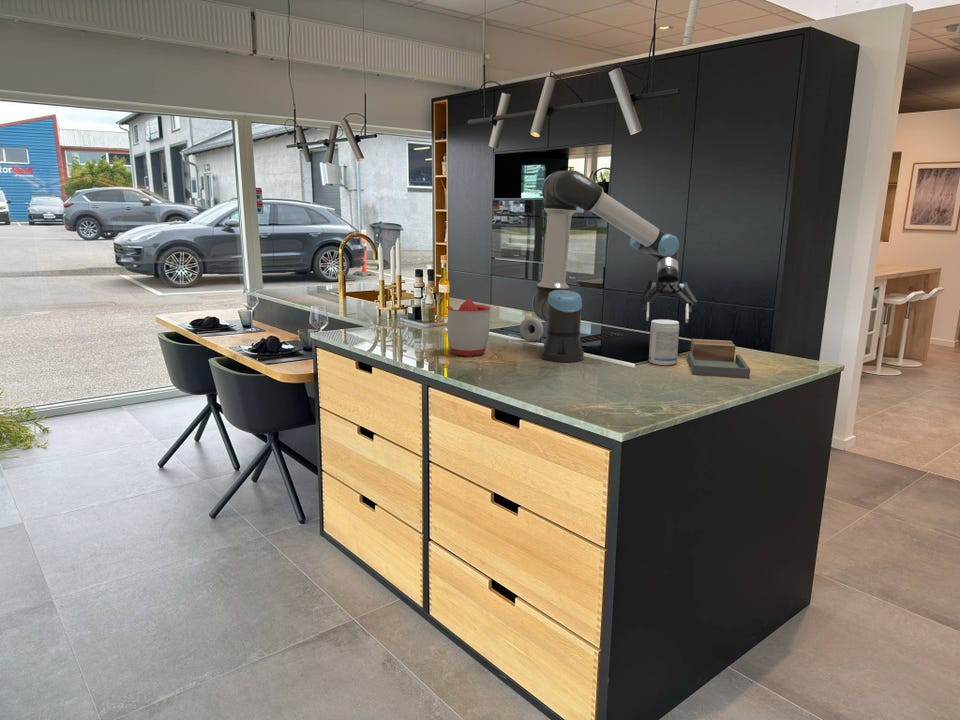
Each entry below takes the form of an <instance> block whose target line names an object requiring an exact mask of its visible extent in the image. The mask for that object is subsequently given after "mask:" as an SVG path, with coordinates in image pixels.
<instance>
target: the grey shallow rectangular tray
mask: <svg viewBox="0 0 960 720" xmlns="http://www.w3.org/2000/svg"><path fill="white" fill-rule="evenodd" d="M686 360H687V363H688V366H689V368H690V371H691V374H692V375H695V376H710V377H711V376H712V377H722V378H723V377H724V378H725V377H726V378H737V377H738V378H739V379H742V378H743V379H750V378H751V377H750V375H751V368H750V367H749V365H748V364H747V362H746V361H745V360H744V359H743V357H742V356H741V354H739V353H738V354H736V353H735V357H734V362H727V361H711V360H695V359H694V357H693V354H692V352H690V351H688V352H687V357H686Z"/></svg>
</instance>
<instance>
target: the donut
mask: <svg viewBox="0 0 960 720" xmlns="http://www.w3.org/2000/svg"><path fill="white" fill-rule="evenodd" d="M530 326H533V327H534V332H530V330H529V327H530ZM519 333H520V335H521V336H522V337H523V339H524V340H526V341H527V342H531V343H532V342H537V341H539V340H540V339H541V337H542V336H543V333H544V326H543V323H542V321H541V319H540V318H537V316H527V317H525V318H524V319H523V320H522V321H521V323H520V325H519Z"/></svg>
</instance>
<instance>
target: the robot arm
mask: <svg viewBox="0 0 960 720" xmlns="http://www.w3.org/2000/svg"><path fill="white" fill-rule="evenodd" d="M541 195H542V197H543V199H544V203H543V204H544V205H543V210H544V211H545V212H546V214H547V219H546V229H545V239H544V241H545V242H544V252H543V253H544V254H543V263H542V264H543V265H542V276H541V281H540V282H538V283H537V285H536V293H535V294H534V295H533V298H532V301H531V308H532V310H533V313H534V315H535V316H536V317H538V319H539V320H540V321H541V320H542V321H544V322H546V323H547V324H546V338H545V340H544V343H543V346H542V349H541V350H540V351H541V352H540V357H541V358H542V359H543V360H546V361H551V362H557V363H574V362H575V363H576V362H580V361H583V360H584V357H585V352H584V349H583V344H582V341H581V325H582V324H581V321H582V308H583V302H582V295H581V294H580V293H578V292H577V291H573V290H569V289H570V287H569V285H568V284H567V283H566V278H567V266H568V255H569V247H570V246H569V245H570V244H569V243H570V236H571V225H572V216H573V215H574V214H575V213H576V212H577V208H579V209H581V210H583V211H585V212H586V213H589V212H591V213H593V214H595V215H596V216H598V217H599V218H601V219H602V220H604V221H606V222H607V223H609V224H610V225H611V226H613V227H615V228H616V229H618V230H620V231H621V232H623V233H625V234H626V235H628V236H629V237H630V239H629V245H630V247H631V248H633V249H635V251H640V252H641V253H644V254H646V255H647V256H649V257H652V258H653V259H656V261H657V269H656V270H657V271H656V272H657V275H656V276H657V278H656V282H653V281H652V280H649V281H648V285H647V286H646V288H645V289H644V291H642V294H641V295H640V296H639V298H638V304H639V305H643V313H645V314H646V316H645V321H646V322H649V318H650V303H651V302H653V300H655V299H656V298H657V297H659V296H660V295H661V294H662V295H664V296H665V295H668V296H671V295H673V296H675V297H676V298H678V299H679V300H680V301H681V302H682V303H683V305H685V310H684V311H685V324H689V319H690V318H689V316H690V315H692V312H693V309H692V307H696V306H697V303H698V301H697V299H696V297H695V295H694V294H693V293H692V291H691V290H690V288H689V286H688V285H689V284H688V282H687V281H684V282H683V283H680V282H679V250H680V249H679V248H680V242H679V239H678V238H677V236H675V235H674V234H670V233H666V232H664V231H663V230H661V229H660V228H658V227H657V226H655V225H654V224H653V223H651V222H649V221H648V220H646V219H645V218H643V217H642V216H640V215H639V214H638V213H636V212H634V211H633V210H632V209H630V208H628V207H627V206H625V205H623V203H621V202H619V201H617V199H614V197H612V196H610V195H609V194H608V193H606V192H604V188H603V186H601V185H600V184H598V183H597V182H596V181H594V180H592V179H591V178H589V176H587V175H585V174H583V173H582V172H579V171H578V170H572V169H570V170H568V169H567V170H557V171H554V172H553V173H551V174H549V175H548V176H547V177H546V178H545V179H544V181H543V183H542V185H541ZM654 288H656V289H655V290H654V291H652V290H653V289H654ZM651 291H652V293H650V292H651ZM682 291H683V292H684V293H683V292H682Z"/></svg>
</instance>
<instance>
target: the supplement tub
mask: <svg viewBox="0 0 960 720" xmlns="http://www.w3.org/2000/svg"><path fill="white" fill-rule="evenodd" d="M649 333H650V335H649V352H648V361H649V362H650V364H653V365H659V366H673V365H676V364H677V363H678V362H677V361H678V351H679V335H680V322H679V321H678V320H673V319H652V320H651V324H650V332H649Z"/></svg>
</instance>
